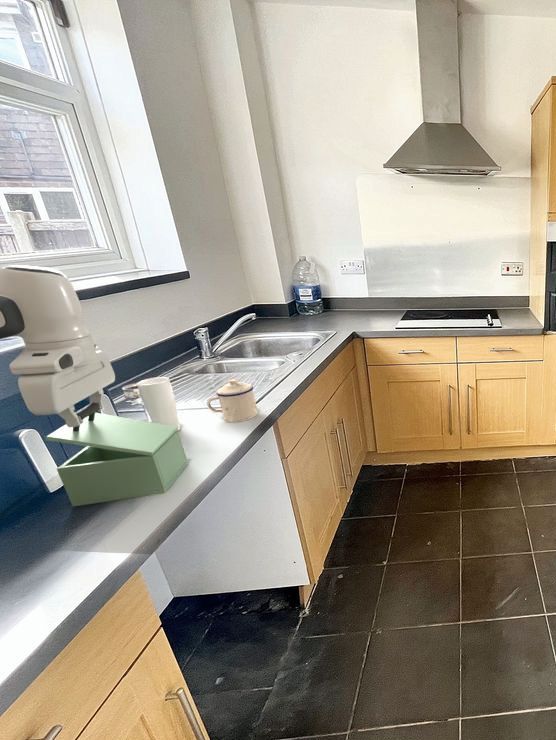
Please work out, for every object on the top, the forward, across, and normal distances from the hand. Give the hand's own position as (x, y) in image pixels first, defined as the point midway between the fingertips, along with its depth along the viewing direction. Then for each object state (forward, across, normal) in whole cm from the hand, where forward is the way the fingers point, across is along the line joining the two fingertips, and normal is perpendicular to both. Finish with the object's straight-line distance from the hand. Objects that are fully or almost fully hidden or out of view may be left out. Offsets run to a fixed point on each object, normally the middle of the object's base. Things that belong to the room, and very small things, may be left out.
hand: (87, 418), depth 84 cm
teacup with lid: (+16, -33, +15) cm, 40 cm away
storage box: (+16, 0, +4) cm, 17 cm away
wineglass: (+16, -35, -7) cm, 39 cm away
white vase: (+16, -28, 0) cm, 33 cm away
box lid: (+4, 0, +4) cm, 6 cm away
